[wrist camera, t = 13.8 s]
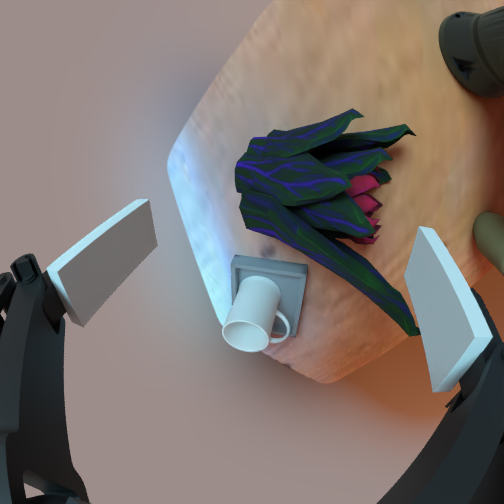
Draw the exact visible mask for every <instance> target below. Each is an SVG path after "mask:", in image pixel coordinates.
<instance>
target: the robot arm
mask: <svg viewBox="0 0 504 504" xmlns="http://www.w3.org/2000/svg"><path fill="white" fill-rule="evenodd" d="M439 44H440V48H441V52H442V55H443V57H444V60H445V62H446V64H447V66H448V67H449V69H450V71H451V72H452V74H453V75H454V76H455V78H456V79H457V80H458V81H459V82H460V83H461V84H462V85H463V86H464V87H465V88H466V89H468V90H469V91H471V92H472V93H474V94H476V95H478V96H482V97H488V98H498V97H502V96H504V6H502V7H499V8H496V9H494V10H491V11H488V12H486V13H483V14H478V13H472V12H457V13H454V14H452V15H450V16H448V17H447V18H445V19H444V21H443V22H442V24H441V26H440V30H439ZM156 246H157V240H156V235H155V230H154V224H153V219H152V213H151V208H150V201H149V199H137V200H135V201H134V202H133V203H131V204H130V205H128V206H127V207H125V208H124V209H122V210H121V211H119V212H118V213H117V214H115V215H114V216H112V217H111V218H110V219H108V220H107V221H105V222H104V223H103V224H101V225H100V226H99V227H97V228H96V229H95V230H93V231H92V232H91V233H89V234H88V235H87V236H85V237H84V238H83V239H81V240H80V241H79V242H78V243H76V244H75V245H74V246H73V247H71V248H70V249H69V250H68V251H67V252H65V253H64V254H63V255H62V256H60V257H59V258H58V259H57V260H56V261H54V262H53V263H52V264H51V265H50V266H49V267H48V268H47V270H46V271H45V272H44V273H43V274H42V273H41V270H40V268H39V265H38V263H37V261H36V258H35V256H34V255H33V254H26V255H23V256H21V257H19V258H18V259H17V260H15V261H14V262H13V263H12V264H11V266H10V267H11V270H12V272H13V274H14V276H15V278H16V280H17V282H15V280H14V278H13V276H12V274H11V273H10V272H7V273H2V274H0V313H1V311H2V310H4V312H5V313H6V315H7V316H6V320H5V321H4V319H3V317H2V316H1V314H0V504H90V503H89V499H88V496H87V492H86V488H85V485H84V483H83V481H82V479H81V477H80V476H79V474H78V473H77V472H76V470H75V469H74V467H73V464H72V461H71V455H70V449H69V442H68V434H67V426H66V416H65V401H64V377H63V376H64V375H63V374H64V368H63V367H64V338H65V337H64V336H65V319H64V318H63V315H64V314H65V313H66V312H67V314H68V315H69V317H70V319H71V321H72V322H73V323H75V324H77V325H80V326H82V327H84V326H85V325H86V323H87V322H88V321H89V320H90V319H91V317H92V316H93V315H94V314H95V313H96V311H97V310H98V309H99V308H100V307H101V306H102V305H103V304H104V302H105V301H106V300H107V299H108V298H109V297H110V295H112V293H113V292H114V291H115V290H116V289H117V288H118V287H119V286H120V285H121V283H122V282H123V281H124V280H125V279H126V278H127V277H128V276H129V275H130V274H131V273H132V272H133V270H134V269H135V268H136V267H137V266H138V265H139V264H140V263H141V262H142V261H143V260H144V259H145V258H146V257H147V256H148V255H149V254H150V253H151V252H152V251H153V250H154V249H155V248H156ZM404 278H405V281H406V284H407V287H408V290H409V294H410V297H411V300H412V303H413V307H414V310H415V314H416V317H417V321H418V325H419V329H420V332H421V336H422V341H423V345H424V349H425V354H426V358H427V363H428V368H429V373H430V378H431V384H432V390H433V392H445V391H451V390H452V389H453V387H454V386H455V385H456V384H457V383H458V382H459V383H460V387H461V390H460V391H459V392H458V393H457V394H456V395H455V397H454V398H453V399H452V400H451V401H450V402H449V403H448V404H447V405H446V406H445V407H447V408H448V407H449V406H450V407H449V409H448V411H447V412H446V414H445V416H444V417H443V419H442V421H441V422H440V424H439V426H438V427H437V429H436V431H435V432H434V433H433V435H432V436H431V438H430V439H429V441H428V442H427V444H426V445H425V447H424V448H423V449H422V451H421V452H420V454H419V455H418V456H417V458H416V459H415V460H414V462H413V463H412V464H411V465H410V467H409V468H408V469H407V470H406V472H405V473H404V474H403V475H402V476H401V478H400V479H399V480H398V481H397V482H396V483H395V484H394V486H393V487H392V488H391V489H390V490H389V491H388V492H387V493H386V494H385V495H384V496H383V498H382V499H381V500H380V501H379V502H378V503H377V504H504V342H502V340H501V338H500V335H499V333H498V331H497V329H496V326H495V324H494V322H493V320H492V318H491V316H489V312H488V310H487V308H486V306H485V304H484V302H483V300H482V298H481V296H480V295H479V294H478V293H477V292H476V291H475V290H474V289H473V288H469V286H468V284H467V282H466V281H465V279H464V277H463V275H462V274H461V272H460V270H459V268H458V267H457V265H456V263H455V262H454V260H453V258H452V257H451V255H450V254H449V252H448V250H447V249H446V247H445V246H444V244H443V243H442V241H441V240H440V238H439V237H438V235H437V234H436V232H435V231H434V229H433V228H427V227H421V226H419V228H418V232H417V235H416V239H415V242H414V246H413V249H412V252H411V256H410V259H409V262H408V265H407V268H406V271H405V274H404ZM24 483H26V484H28V485H30V486H32V487H34V488H37V489H39V490H41V491H42V492H43V493H44V494H45V495H40V496H35V497H31V498H26V495H25V489H24Z"/></svg>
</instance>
